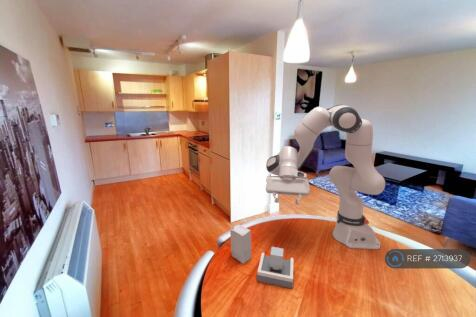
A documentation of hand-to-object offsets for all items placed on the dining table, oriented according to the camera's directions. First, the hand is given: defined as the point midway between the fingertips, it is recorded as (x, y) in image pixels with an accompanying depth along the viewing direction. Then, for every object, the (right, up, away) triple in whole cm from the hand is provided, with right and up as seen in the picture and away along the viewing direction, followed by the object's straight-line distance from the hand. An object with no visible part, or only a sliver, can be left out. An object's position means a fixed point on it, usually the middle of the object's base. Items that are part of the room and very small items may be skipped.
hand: (286, 203), depth 97 cm
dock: (-6, -29, -7) cm, 30 cm away
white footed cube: (-6, -26, -7) cm, 28 cm away
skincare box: (-21, -26, +3) cm, 34 cm away
